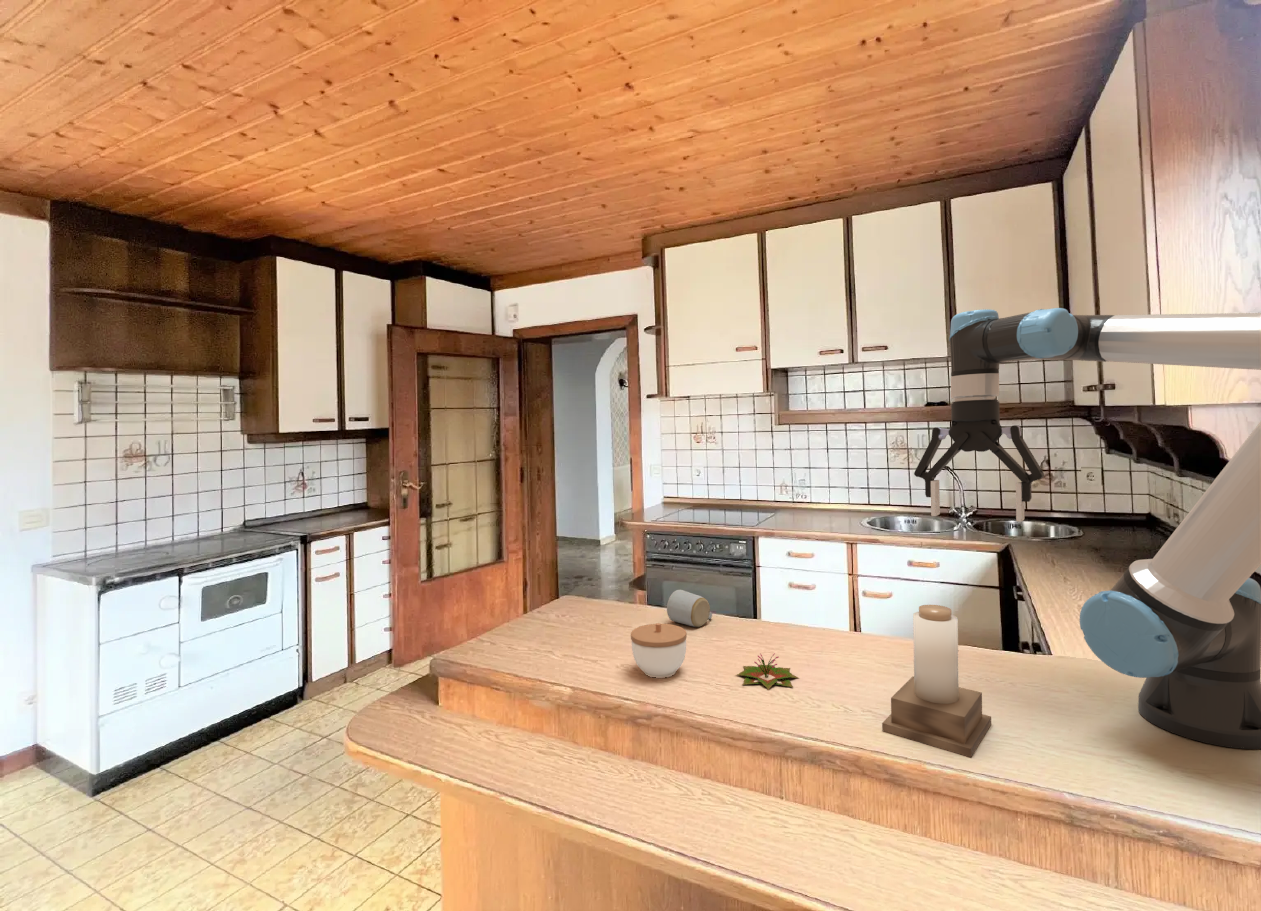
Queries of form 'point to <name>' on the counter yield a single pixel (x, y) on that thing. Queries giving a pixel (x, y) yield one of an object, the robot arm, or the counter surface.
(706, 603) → the ceramic mug
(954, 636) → the canister
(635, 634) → the lidded jar
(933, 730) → the pedestal
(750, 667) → the lily flower
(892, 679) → the counter surface
